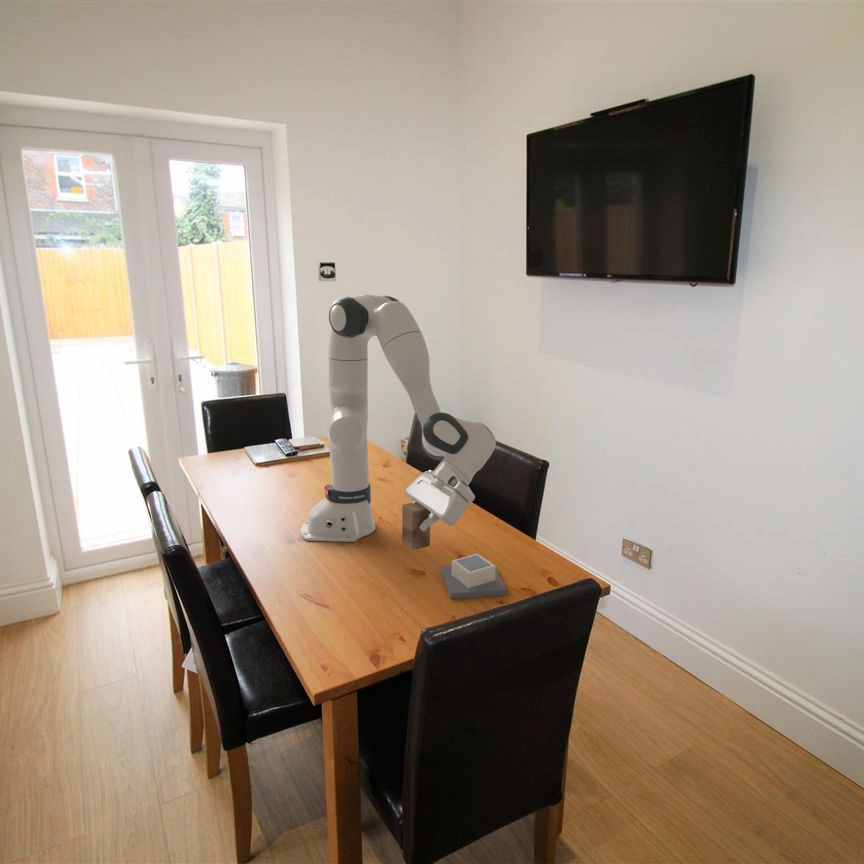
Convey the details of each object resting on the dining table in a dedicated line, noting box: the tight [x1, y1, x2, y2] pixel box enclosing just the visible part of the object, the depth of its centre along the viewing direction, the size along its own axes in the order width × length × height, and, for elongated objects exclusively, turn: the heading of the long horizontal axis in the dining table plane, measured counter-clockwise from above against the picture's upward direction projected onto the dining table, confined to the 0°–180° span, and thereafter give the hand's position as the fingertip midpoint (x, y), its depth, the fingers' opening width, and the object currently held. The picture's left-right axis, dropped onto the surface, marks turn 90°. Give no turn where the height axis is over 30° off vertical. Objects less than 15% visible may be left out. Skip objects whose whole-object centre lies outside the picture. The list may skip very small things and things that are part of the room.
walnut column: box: [401, 502, 431, 551], centre depth 151 cm, size 5×5×10 cm
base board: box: [441, 553, 508, 600], centre depth 156 cm, size 14×14×6 cm
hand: (413, 524), depth 150 cm, fingers closed on walnut column, 5 cm apart
